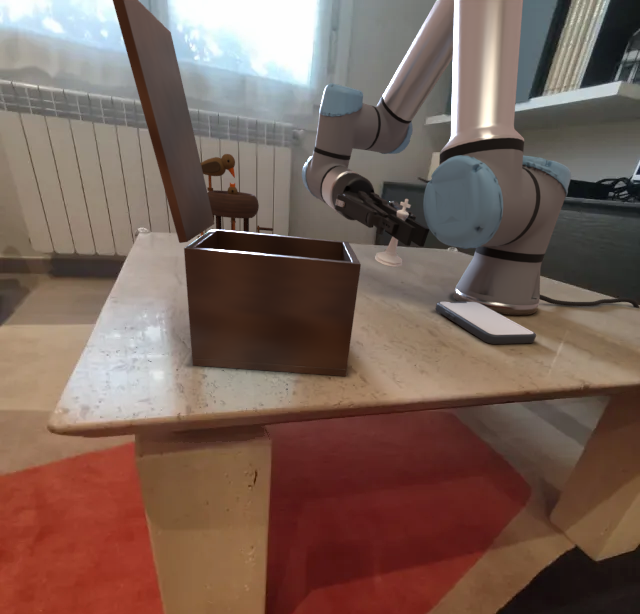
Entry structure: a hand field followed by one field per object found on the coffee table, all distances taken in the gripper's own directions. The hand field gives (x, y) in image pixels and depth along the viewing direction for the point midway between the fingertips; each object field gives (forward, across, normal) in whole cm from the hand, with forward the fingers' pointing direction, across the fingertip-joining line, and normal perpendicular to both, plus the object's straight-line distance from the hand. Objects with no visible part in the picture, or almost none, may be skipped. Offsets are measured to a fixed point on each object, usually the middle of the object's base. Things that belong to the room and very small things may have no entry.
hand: (417, 237), depth 66 cm
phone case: (+13, -8, -9) cm, 17 cm away
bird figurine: (-23, +22, -16) cm, 35 cm away
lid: (+6, +38, +9) cm, 39 cm away
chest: (+14, +28, -10) cm, 33 cm away
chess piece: (-6, 0, -6) cm, 8 cm away
